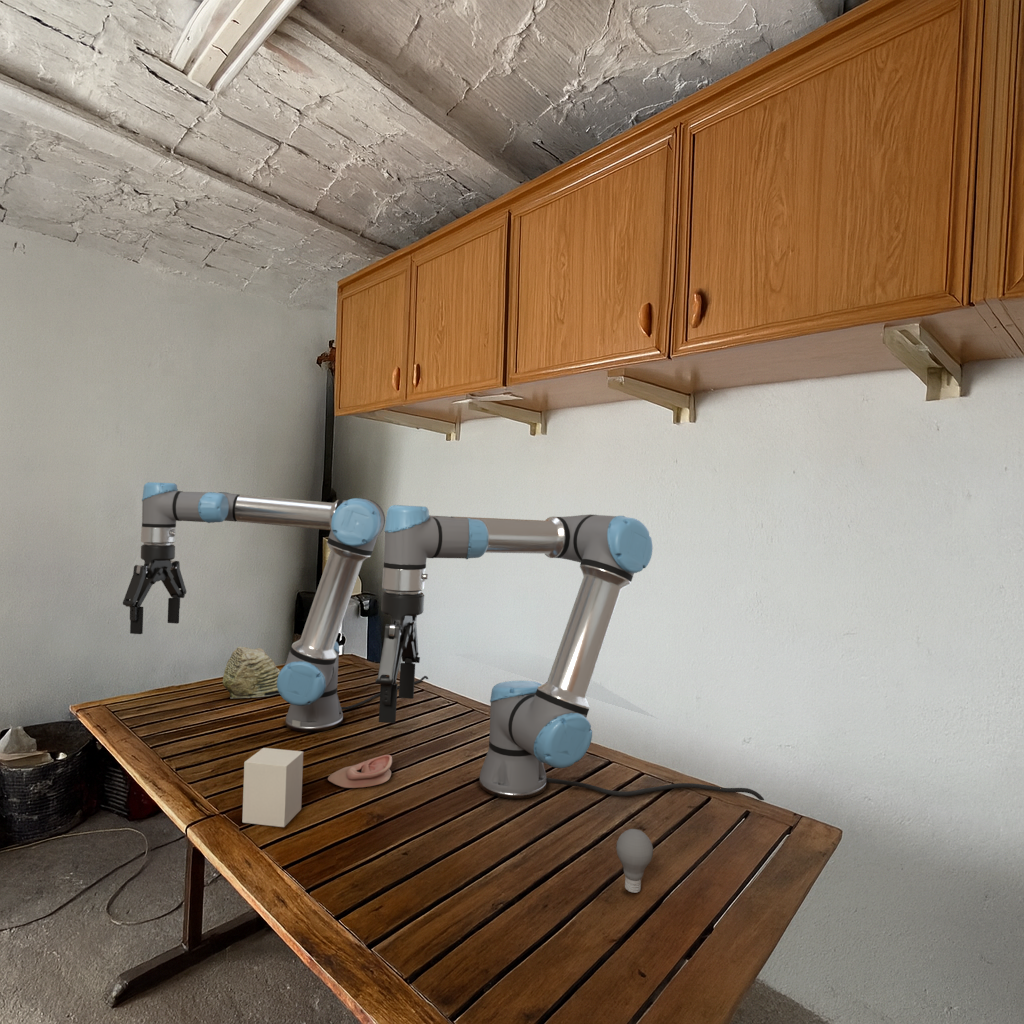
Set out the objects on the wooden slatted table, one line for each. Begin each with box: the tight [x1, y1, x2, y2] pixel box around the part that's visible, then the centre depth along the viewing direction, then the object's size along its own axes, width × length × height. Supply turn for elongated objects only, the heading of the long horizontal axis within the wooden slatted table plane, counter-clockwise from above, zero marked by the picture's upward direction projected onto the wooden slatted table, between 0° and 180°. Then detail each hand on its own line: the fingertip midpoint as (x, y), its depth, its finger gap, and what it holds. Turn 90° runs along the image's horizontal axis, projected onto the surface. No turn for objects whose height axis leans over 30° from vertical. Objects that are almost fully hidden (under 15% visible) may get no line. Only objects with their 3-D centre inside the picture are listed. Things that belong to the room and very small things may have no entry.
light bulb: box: [615, 828, 654, 894], centre depth 106 cm, size 6×6×10 cm
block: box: [241, 747, 304, 828], centre depth 125 cm, size 9×7×12 cm
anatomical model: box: [327, 754, 393, 789], centre depth 143 cm, size 13×4×12 cm
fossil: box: [222, 646, 281, 699], centre depth 198 cm, size 9×18×15 cm, turn 132°
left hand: (155, 628), depth 159 cm, fingers open, 13 cm apart
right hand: (397, 709), depth 114 cm, fingers open, 13 cm apart
